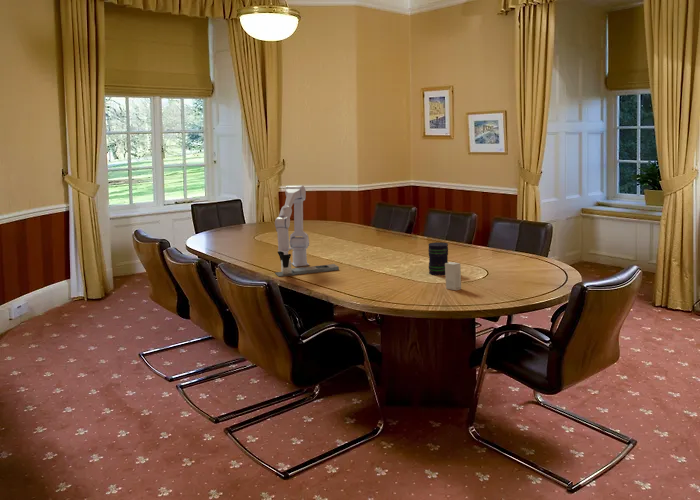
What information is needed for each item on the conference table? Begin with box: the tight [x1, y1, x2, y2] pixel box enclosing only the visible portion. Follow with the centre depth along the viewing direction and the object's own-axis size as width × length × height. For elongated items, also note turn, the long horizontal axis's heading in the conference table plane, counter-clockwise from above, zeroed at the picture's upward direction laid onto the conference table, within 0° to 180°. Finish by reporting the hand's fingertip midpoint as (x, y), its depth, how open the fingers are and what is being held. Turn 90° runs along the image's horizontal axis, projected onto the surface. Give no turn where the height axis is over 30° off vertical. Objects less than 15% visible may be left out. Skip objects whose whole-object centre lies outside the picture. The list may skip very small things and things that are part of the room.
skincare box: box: [444, 261, 462, 291], centre depth 314 cm, size 6×4×12 cm
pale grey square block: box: [280, 259, 292, 274], centre depth 358 cm, size 4×4×7 cm
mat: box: [274, 271, 297, 278], centre depth 358 cm, size 9×9×1 cm
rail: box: [291, 263, 340, 276], centre depth 363 cm, size 8×24×2 cm, turn 108°
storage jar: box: [427, 241, 449, 276], centre depth 346 cm, size 10×10×15 cm
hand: (284, 266), depth 358 cm, fingers open, 7 cm apart
